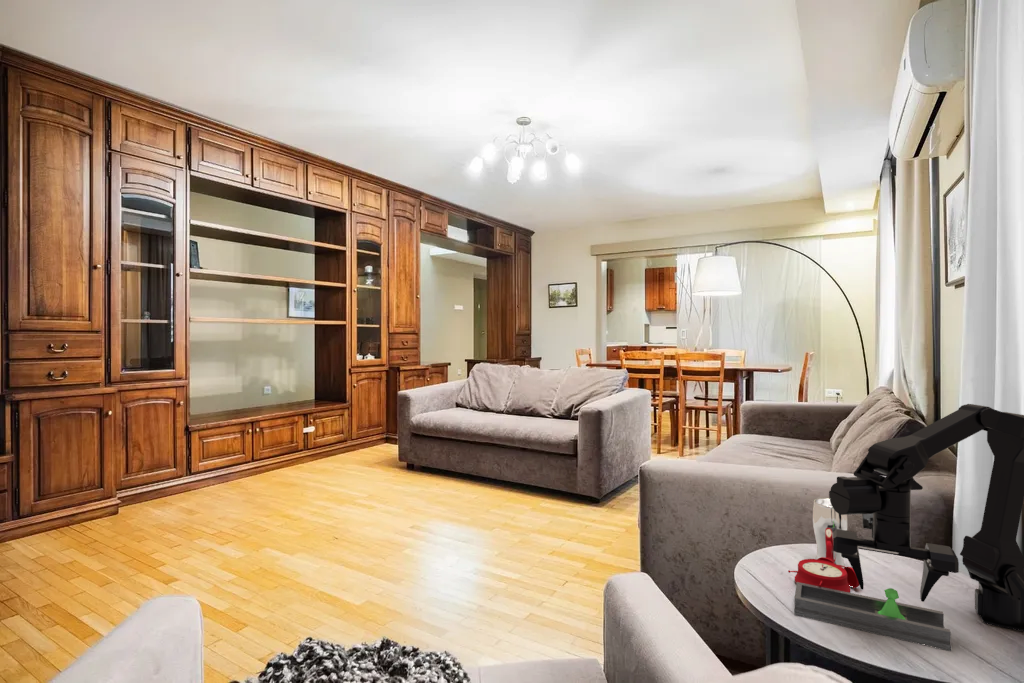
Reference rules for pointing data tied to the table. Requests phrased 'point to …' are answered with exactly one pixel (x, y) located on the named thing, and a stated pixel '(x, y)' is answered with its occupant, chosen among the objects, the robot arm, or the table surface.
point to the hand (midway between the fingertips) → (891, 594)
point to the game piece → (891, 605)
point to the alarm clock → (826, 574)
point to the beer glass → (827, 529)
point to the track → (872, 615)
